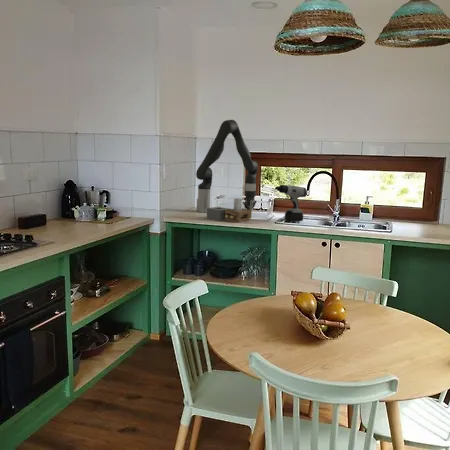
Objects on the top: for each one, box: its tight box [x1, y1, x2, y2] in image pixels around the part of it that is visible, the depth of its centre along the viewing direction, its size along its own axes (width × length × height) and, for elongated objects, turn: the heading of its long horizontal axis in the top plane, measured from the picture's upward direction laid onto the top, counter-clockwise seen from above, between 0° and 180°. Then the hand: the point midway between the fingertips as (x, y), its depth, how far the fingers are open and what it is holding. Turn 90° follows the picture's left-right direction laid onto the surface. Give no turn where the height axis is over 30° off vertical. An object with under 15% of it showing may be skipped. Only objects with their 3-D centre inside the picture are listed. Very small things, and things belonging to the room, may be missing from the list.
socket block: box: [224, 208, 250, 223], centre depth 327 cm, size 12×12×7 cm
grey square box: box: [206, 206, 230, 221], centre depth 332 cm, size 12×12×7 cm
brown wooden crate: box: [225, 207, 253, 220], centre depth 328 cm, size 19×8×6 cm, turn 139°
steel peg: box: [233, 197, 243, 218], centre depth 326 cm, size 4×4×15 cm
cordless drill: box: [274, 184, 308, 222], centre depth 336 cm, size 8×24×25 cm, turn 115°
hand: (249, 214), depth 337 cm, fingers closed
